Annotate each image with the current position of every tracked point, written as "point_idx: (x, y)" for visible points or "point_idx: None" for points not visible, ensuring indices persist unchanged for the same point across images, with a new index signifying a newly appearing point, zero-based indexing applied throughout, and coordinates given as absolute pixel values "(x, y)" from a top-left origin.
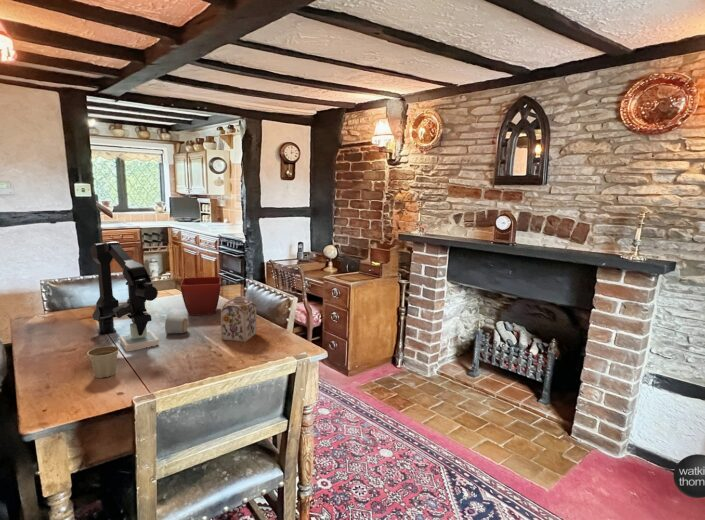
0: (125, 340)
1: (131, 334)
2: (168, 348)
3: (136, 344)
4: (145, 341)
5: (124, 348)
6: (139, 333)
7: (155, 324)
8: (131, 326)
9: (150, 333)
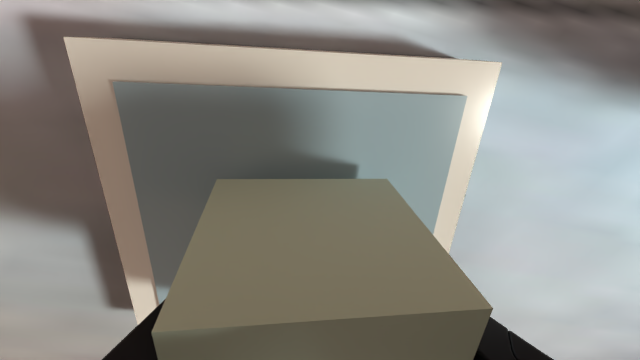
0: (307, 89)
1: (334, 192)
2: (48, 352)
3: (104, 171)
4: (138, 267)
5: (217, 44)
6: None
7: (616, 346)
8: (324, 297)
9: None
